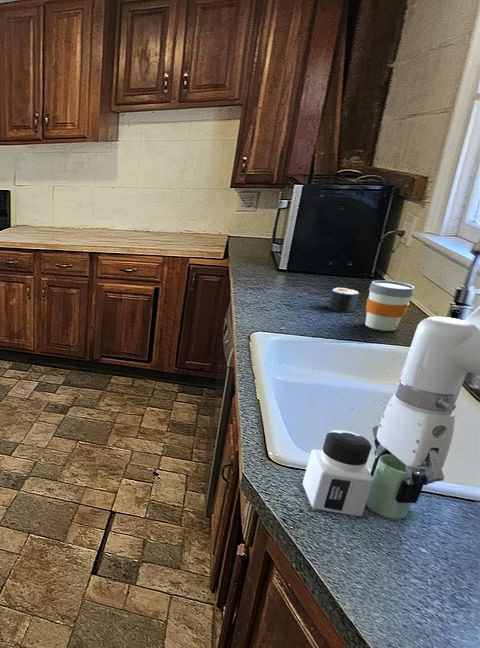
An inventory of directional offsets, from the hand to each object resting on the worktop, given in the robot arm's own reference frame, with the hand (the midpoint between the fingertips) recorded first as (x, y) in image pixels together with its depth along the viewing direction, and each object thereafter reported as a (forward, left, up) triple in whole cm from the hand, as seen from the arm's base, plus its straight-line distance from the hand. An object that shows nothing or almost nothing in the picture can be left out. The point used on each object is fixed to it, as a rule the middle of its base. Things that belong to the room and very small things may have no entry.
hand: (392, 488), depth 90 cm
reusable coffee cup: (-63, -102, -4) cm, 120 cm away
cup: (0, 0, -4) cm, 4 cm away
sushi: (-61, -123, -4) cm, 138 cm away
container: (+9, -2, -4) cm, 10 cm away
